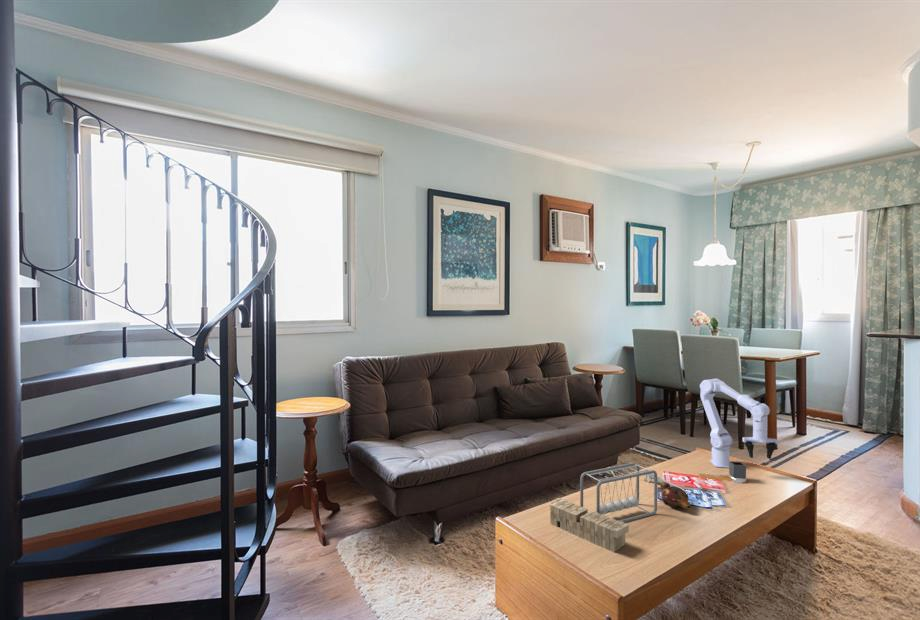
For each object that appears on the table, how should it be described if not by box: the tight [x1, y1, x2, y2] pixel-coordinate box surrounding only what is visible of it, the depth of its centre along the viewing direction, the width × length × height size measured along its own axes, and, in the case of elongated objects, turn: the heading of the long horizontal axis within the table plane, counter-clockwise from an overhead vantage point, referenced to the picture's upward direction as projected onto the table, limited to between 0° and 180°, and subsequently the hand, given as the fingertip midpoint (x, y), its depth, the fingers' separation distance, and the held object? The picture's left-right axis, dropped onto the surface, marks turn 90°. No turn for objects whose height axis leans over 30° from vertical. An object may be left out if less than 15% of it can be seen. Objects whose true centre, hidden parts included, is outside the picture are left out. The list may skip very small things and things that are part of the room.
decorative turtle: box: [659, 482, 692, 510], centre depth 183 cm, size 10×15×8 cm, turn 23°
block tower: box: [549, 497, 630, 553], centre depth 161 cm, size 8×8×29 cm
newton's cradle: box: [579, 462, 658, 523], centre depth 175 cm, size 30×10×18 cm, turn 113°
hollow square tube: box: [728, 460, 747, 480], centre depth 209 cm, size 5×5×6 cm
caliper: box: [643, 471, 688, 493], centre depth 201 cm, size 20×1×6 cm, turn 41°
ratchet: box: [697, 473, 747, 484], centre depth 210 cm, size 20×7×5 cm, turn 78°
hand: (759, 457), depth 212 cm, fingers open, 7 cm apart
